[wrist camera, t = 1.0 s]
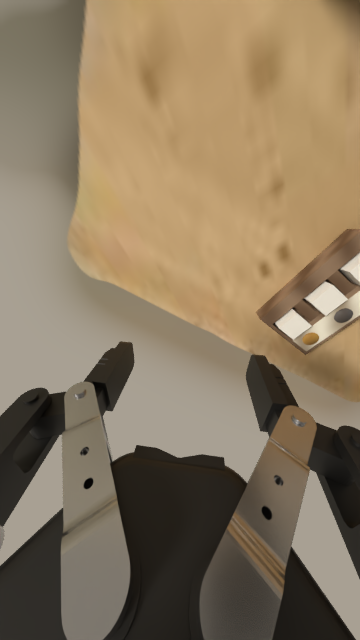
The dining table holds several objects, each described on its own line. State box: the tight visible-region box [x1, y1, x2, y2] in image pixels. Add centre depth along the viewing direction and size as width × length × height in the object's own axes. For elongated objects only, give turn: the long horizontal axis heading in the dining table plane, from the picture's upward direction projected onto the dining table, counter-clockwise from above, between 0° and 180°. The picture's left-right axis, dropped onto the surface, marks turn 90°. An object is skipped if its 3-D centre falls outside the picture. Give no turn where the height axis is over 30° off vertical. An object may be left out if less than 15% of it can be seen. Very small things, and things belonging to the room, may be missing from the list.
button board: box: [256, 229, 360, 355], centre depth 30 cm, size 18×12×3 cm
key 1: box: [275, 309, 311, 340], centre depth 31 cm, size 4×4×2 cm
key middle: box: [304, 281, 348, 316], centre depth 28 cm, size 4×4×2 cm
